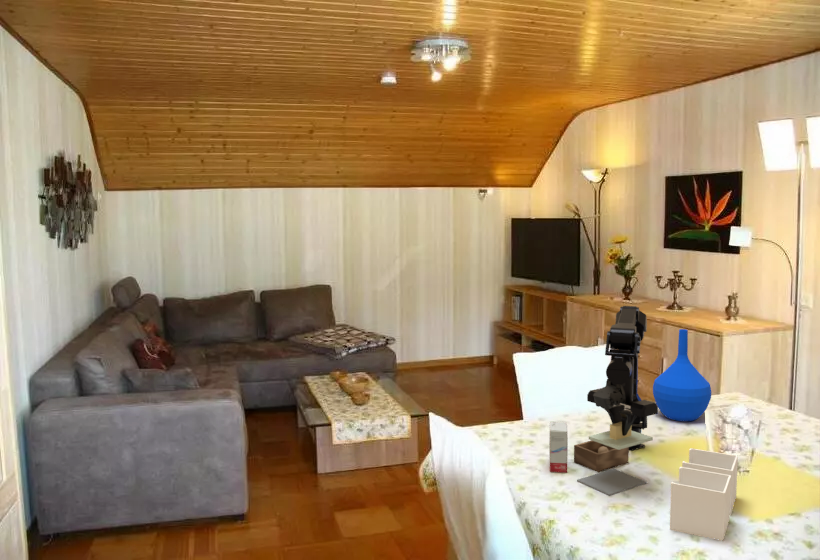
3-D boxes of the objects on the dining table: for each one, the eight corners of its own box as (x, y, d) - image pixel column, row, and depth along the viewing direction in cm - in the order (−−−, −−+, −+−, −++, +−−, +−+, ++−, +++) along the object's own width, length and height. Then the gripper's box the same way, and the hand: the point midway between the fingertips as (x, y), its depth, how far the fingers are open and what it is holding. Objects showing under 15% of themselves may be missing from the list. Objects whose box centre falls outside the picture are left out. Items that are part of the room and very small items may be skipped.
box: (603, 453, 203) (604, 436, 202) (628, 463, 195) (628, 445, 195) (573, 462, 197) (574, 445, 196) (598, 472, 189) (598, 454, 188)
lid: (621, 433, 190) (622, 414, 190) (652, 443, 182) (653, 424, 181) (588, 442, 183) (588, 423, 182) (618, 452, 175) (619, 433, 174)
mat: (613, 469, 191) (613, 468, 191) (646, 483, 181) (646, 481, 181) (576, 481, 183) (576, 479, 183) (609, 495, 174) (609, 494, 174)
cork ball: (602, 454, 200) (603, 444, 200) (611, 457, 198) (611, 447, 198) (595, 456, 199) (595, 446, 199) (603, 459, 196) (603, 449, 196)
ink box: (567, 473, 189) (568, 431, 187) (549, 472, 190) (549, 430, 188) (566, 461, 197) (567, 421, 196) (549, 460, 198) (549, 420, 197)
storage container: (723, 541, 151) (724, 493, 149) (669, 530, 156) (671, 483, 155) (736, 498, 172) (737, 455, 171) (688, 489, 177) (690, 448, 176)
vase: (657, 424, 228) (659, 334, 224) (647, 408, 246) (649, 324, 242) (716, 426, 225) (720, 335, 221) (702, 410, 243) (705, 325, 239)
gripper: (573, 372, 184) (572, 430, 186) (630, 387, 168) (628, 450, 170) (602, 367, 190) (601, 423, 192) (660, 380, 175) (658, 441, 176)
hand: (620, 434), depth 182 cm, fingers closed on lid
